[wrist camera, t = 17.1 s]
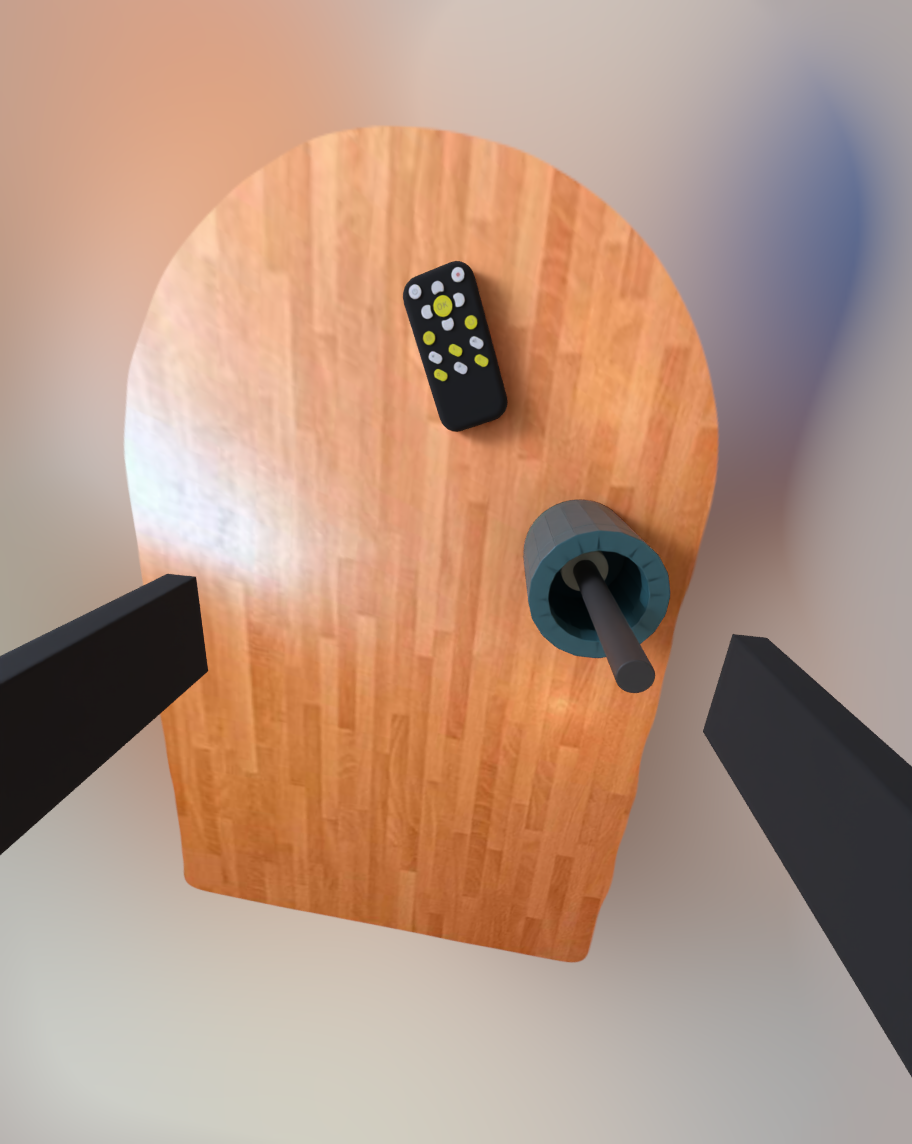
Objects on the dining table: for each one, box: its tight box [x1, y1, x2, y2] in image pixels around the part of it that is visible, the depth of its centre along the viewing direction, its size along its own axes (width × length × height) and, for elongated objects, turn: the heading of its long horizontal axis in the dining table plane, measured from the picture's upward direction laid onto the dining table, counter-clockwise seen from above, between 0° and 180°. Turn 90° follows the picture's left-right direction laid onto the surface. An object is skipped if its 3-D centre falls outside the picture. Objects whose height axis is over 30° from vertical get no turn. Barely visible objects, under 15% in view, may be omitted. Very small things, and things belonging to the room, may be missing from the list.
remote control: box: [403, 261, 507, 432], centre depth 40 cm, size 6×13×2 cm, turn 18°
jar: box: [523, 500, 670, 658], centre depth 40 cm, size 10×10×12 cm
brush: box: [560, 551, 655, 693], centre depth 35 cm, size 4×4×22 cm
